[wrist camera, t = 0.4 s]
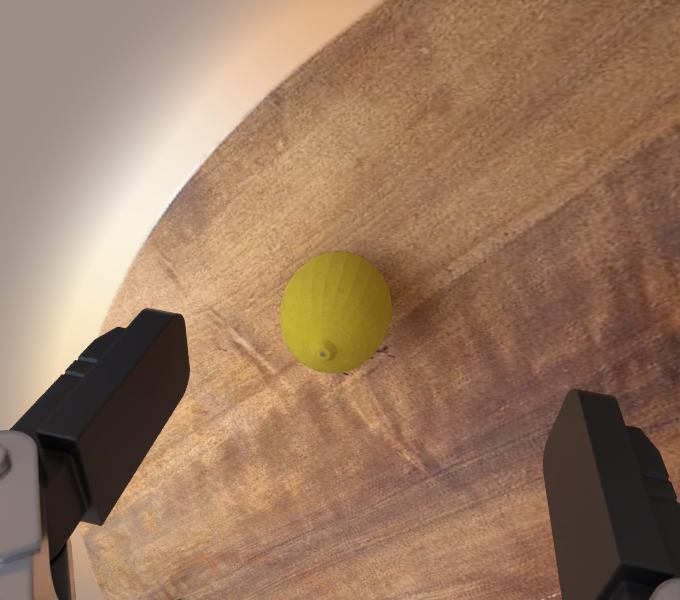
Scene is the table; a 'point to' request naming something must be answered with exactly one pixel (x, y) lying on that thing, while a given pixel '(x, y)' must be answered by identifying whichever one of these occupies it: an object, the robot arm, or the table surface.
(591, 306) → the table surface
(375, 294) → the lemon
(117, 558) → the table surface
